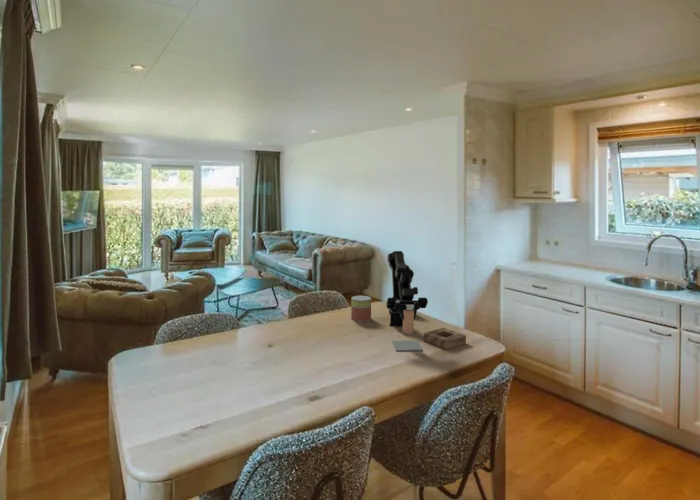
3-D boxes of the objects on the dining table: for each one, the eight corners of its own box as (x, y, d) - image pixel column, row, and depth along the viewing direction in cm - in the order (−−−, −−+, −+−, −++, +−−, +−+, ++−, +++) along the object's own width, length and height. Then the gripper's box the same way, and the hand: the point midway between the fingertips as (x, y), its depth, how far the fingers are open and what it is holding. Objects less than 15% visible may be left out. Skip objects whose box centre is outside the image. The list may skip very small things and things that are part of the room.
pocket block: (423, 341, 203) (423, 333, 202) (442, 335, 212) (443, 327, 211) (446, 349, 192) (446, 341, 192) (465, 343, 201) (466, 335, 200)
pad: (392, 341, 202) (392, 340, 202) (417, 341, 202) (417, 340, 202) (396, 351, 190) (396, 350, 190) (422, 351, 190) (422, 349, 190)
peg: (400, 331, 196) (400, 310, 194) (407, 329, 199) (408, 308, 197) (408, 334, 192) (408, 313, 190) (415, 332, 195) (416, 311, 193)
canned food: (374, 317, 239) (375, 297, 238) (364, 323, 230) (364, 301, 228) (357, 314, 245) (357, 294, 244) (347, 319, 236) (347, 298, 234)
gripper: (387, 280, 195) (390, 310, 186) (427, 280, 196) (432, 310, 187) (385, 293, 204) (387, 322, 195) (423, 293, 205) (427, 322, 196)
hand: (408, 319), depth 193 cm, fingers closed on peg, 5 cm apart
